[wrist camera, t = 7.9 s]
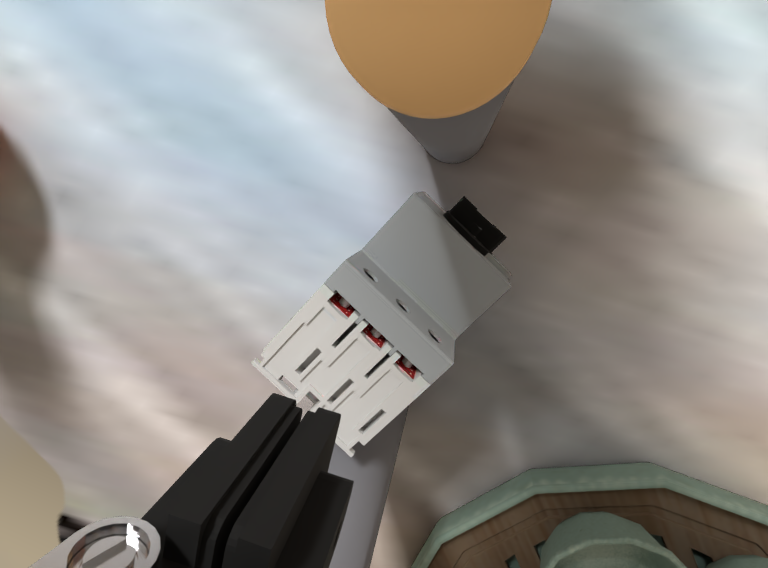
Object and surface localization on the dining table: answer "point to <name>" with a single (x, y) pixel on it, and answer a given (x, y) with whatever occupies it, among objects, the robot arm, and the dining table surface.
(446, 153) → the post
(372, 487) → the post
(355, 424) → the circuit breaker
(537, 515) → the tea set
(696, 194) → the dining table surface
